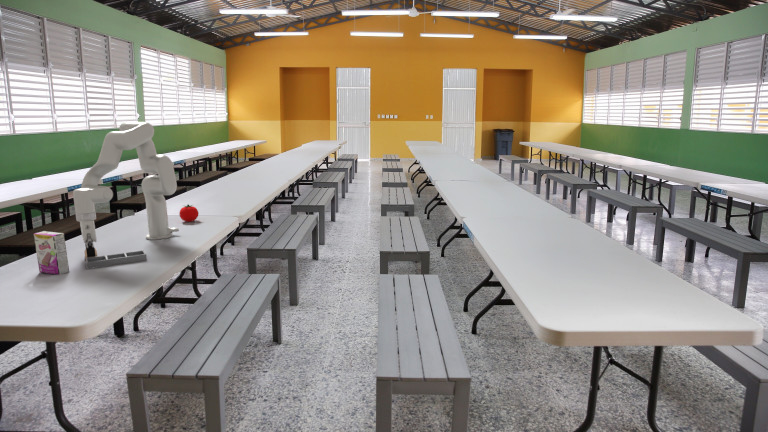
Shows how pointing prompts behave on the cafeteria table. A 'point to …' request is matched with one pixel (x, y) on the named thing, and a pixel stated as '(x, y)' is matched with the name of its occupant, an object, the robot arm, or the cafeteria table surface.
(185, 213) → the tomato
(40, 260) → the candy bar box
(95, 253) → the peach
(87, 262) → the tray
